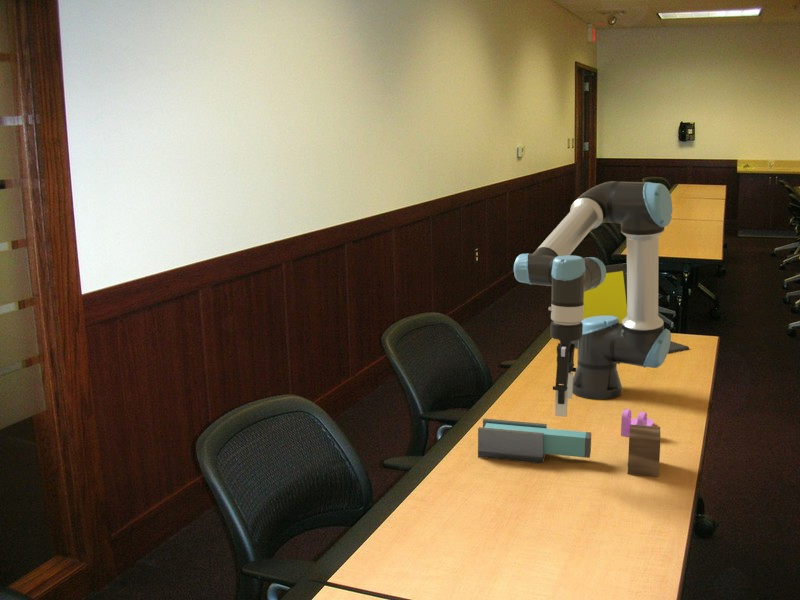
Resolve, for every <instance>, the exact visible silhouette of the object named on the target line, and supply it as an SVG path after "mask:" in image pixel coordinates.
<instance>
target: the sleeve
mask: <svg viewBox="0 0 800 600" xmlns="http://www.w3.org/2000/svg"><path fill="white" fill-rule="evenodd" d="M486 423H492V424H503V425H514V426H525V427H536V428H547V429H548V424H547V423H539V422H538V423H537V422H530V421H529V422H528V421H514V420H505V419H504V420H503V419H493V418H483V420H482V427H481V426H479V427H478V429H477V458H480V459H494V460H503V461H512V462H522V463H530V464H539V465H540V464H542V465H543V463H544V460H545V458H546V455H547V454H544V453H543V450H544V433H537V432H526V431H515V430H504V429H494V428H484V427H485V425H486Z"/></svg>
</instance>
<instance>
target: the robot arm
mask: <svg viewBox="0 0 800 600" xmlns="http://www.w3.org/2000/svg"><path fill="white" fill-rule="evenodd" d="M672 214H673V202H672V196H671V193H670V191H669V189H668V188H667V186H666V185H664V184H663V183H658V182H657V183H656V182H650V181H617V180H615V181H612V180H611V181H606V182H603V183H600V184H598V185H595V186H593V187H591V188H589V189H588V190H586V191H585V192H583V193H582V194H580V196H578V197H577V198H576V199H575V200H574V201H573V202H572V204H571V205H570V209H569V212H568V213H567V214H566V216H565V217H564V218H563V219H562V220H561V221H560V222H559V224H557V225H556V227H555V228H554V229H553V230H552V231H551V233H550V234H549V235H548V236H547V237H546V238H545V240H543V242H542V243H541V244H540V245H539V246H538V247H537V248H536V249H535V251H534V252H533V253H521V254H519V255H518V256H516V258H515V261H514V263H513V273H514V278H515V280H516V281H517V282H519V283H522V284H528V285H530V286H531V285H534V286H535V285H537V286H546V287H551V299H550V300H551V301H550V302H551V303H550V304H551V306H548V311H550V320H551V322H550V328H549V329H550V330H549V331H550V332H549V335H550V337H551V338H552V339H553V340H557V341H559V342H558V343H557V345H556V374H555V385H554V386H552V391H555V403H554V416H555V417H561V418H562V417H563V418H567V417H568V399H571V400H572V399H573V395H576V396H578V397H581V398H585V399H590V400H591V399H592V400H609V399H613V398H617V397H618V398H619V396H621V394H622V393H623V392H622V389H623V387H622V386H623V385H622V383H621V378H620V376H619V371H618V368H617V366H618V365H617V362H618V364H626V365H632V366H637V367H643V368H650V369H651V368H652V369H657V368H660V367H661V366H662V365H663V364H664V362H665V361H666V359H667V356H668V351H669V347H670V342H671V340H672V334H671V331H670V329H667V328H664V327H665V325H664V320H663V319H662V318H661V317H660V315H659V249H660V248H659V247H660V246H659V243H660V242H659V237H660V236H661V235H662V234H663V233H664V232H665V228H666V227H667V226H669V225H670V223H671V222H672V216H673V215H672ZM608 223H609V224H611V223H612V224H620V233H621V234H623V236H624V237H626V275H627V316H626V317H625V318H624V319H623V320H622V323H619V319H618V317H615V316H594V317H589V318H585V319H583V312H584V292H585V291H587V290H590V289H593V288H596V287H597V286H598V285H600V284H601V283H602V282H603V281H604V279H605V277H606V268H605V266H606V265H605V264H604V262H603V261H602V260H601V259H599V258H597V257H593V256H592V257H591V256H589V257H583V256H579V255H572V253H573V252H574V251H575V250H576V248H577V247H578V246H579V245H580V244H581V242H582V241H583V240H584V238H586V236H587V235H588V234H589V233H590V232H591V231H592V230H594V229H597V228H598V227H599V226H601V224H608ZM574 340H578V349H577V364H576V367H575V364H574V359H575V358H574V357H575V349H576V348H575V344H573V341H574Z"/></svg>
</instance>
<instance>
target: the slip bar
mask: <svg viewBox="0 0 800 600" xmlns="http://www.w3.org/2000/svg"><path fill="white" fill-rule="evenodd" d="M484 428H494V429H504V430H515V431H526V432H537V433H544V450H543V453H544V454H546V455H556V456H565V457H575V458H576V457H577V458H587V459H590V458H591V452H592V451H591V449H592V432H591V431H590V432H588V431H581V430H580V431H579V430H578V431H577V430H568V429H557V428H556V429H555V428H548V427H547V428H536V427H525V426H514V425H503V424H492V423H486V425H485V427H484Z"/></svg>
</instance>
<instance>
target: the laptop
mask: <svg viewBox="0 0 800 600" xmlns="http://www.w3.org/2000/svg"><path fill="white" fill-rule="evenodd" d="M605 268H606V277H605V279H604V281H603V282H602V283H601V284H600V285H598V286H597V287H596V288H593V289H590V290H587V291H585V292H584V312H583V319H585V318H589V317H594V316H615V317H618V319H619V323H622V320H623V319H624V318H625V317H626V316H627V265H626V264H625V263H617V264H610V265H605ZM573 344H575V349H577V350H578V340H574V341H573ZM689 349H690V347H689V346H688V345H685V344H681V343H678V342H674V341H671V342H670V347H669V351H668V353H669V354H673V352H674V353H678V351H680V352H684V351H683V350H685V351H688V350H689ZM617 364H619V363H618V362H617Z"/></svg>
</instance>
